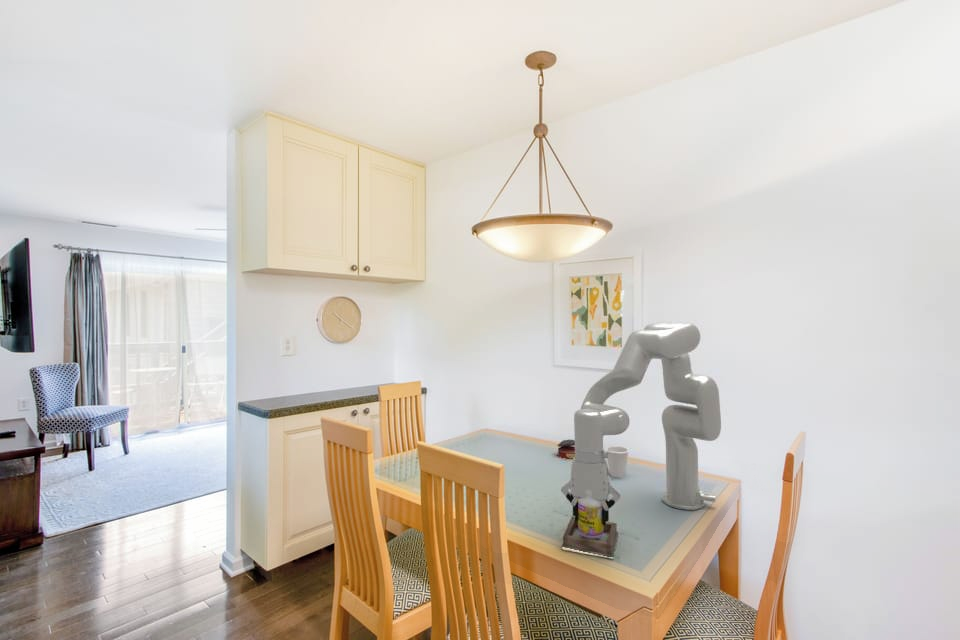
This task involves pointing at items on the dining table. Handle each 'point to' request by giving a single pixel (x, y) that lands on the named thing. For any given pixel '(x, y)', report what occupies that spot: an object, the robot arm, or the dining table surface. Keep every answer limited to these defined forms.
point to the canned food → (566, 449)
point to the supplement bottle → (590, 517)
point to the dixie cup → (617, 461)
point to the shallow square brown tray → (595, 546)
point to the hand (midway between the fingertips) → (590, 520)
